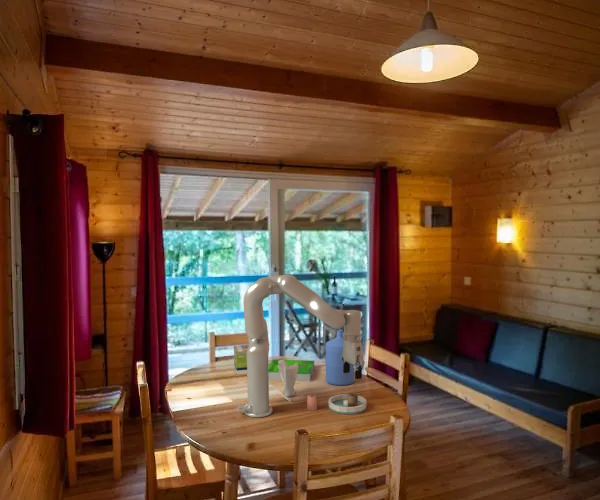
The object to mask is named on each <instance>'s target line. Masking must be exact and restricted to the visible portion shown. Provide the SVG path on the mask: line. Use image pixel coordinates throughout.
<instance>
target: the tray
mask: <svg viewBox="0 0 600 500" xmlns="http://www.w3.org/2000/svg"><path fill="white" fill-rule="evenodd" d="M279 360H280V359H273V360H272V361H271V362H270V363H269V364H268V370H269V379H281V376H280V373H279V368H278V365H279V364H278V361H279ZM283 360H284V361H285V363H286V364H287V365H294V364H295V363H298V372H297V377H296V380H298V381H297V382H311V380H310V379H312V377H313V374H312V373H314V371H313V370H315V360H300V359H298V360H297V359H296V360H295V359H283ZM288 367H289V366H288ZM311 376H312V377H311Z"/></svg>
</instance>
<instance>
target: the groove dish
mask: <svg viewBox="0 0 600 500" xmlns="http://www.w3.org/2000/svg"><path fill="white" fill-rule="evenodd" d="M348 394H349V393H345V394H344V393H342V394H340V393H339V394H337V395H336V394H335V395H332V396H331V397H329V398H328V403H327V404H328V409H329V410H330V411H331V412H333V413H336V414H340V415H350V416H351V415H358V414H361V413H363V412H365V411H366V410H367V405H368V403H367V399H366V398H365V397H363V396H360V395H358V406H355V407H348Z"/></svg>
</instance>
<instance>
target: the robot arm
mask: <svg viewBox="0 0 600 500" xmlns="http://www.w3.org/2000/svg"><path fill="white" fill-rule="evenodd" d="M279 294H284V295H286V296H287V298H289V299H290V300H292V301H294V302H295V303H296V304H298V305H300V306H301V307H302V308H303V309H305V310H306V311H307V312H308V313H310V314H312V315H314V317H316V318H317V319H318V320H320V321H321V322H322V323H324V324H325V325H327V326H328V327H330V328H331V329H332V330H339V329H340V330H342V329H343V338H344V347H343V352H342V353H341V355H342V360H343V373H349V372H350V364H353V366H354V377H355V380H360V379H363V369H364V365H365V361H364V351H363V343H362V314H361V313H362V312H361V311H360V310H358V309H357V310H356V309H346V310H345V309H337V308H333V307H332V306H331V305H329V304H328V303H327V302H326V301H324V299H322V298H321V296H320V295H319V294H317V293H316V292H315V291H314V290H312V289H311V288H310V287H308V286H306V285H305V284H304V283H302V281H300V280H298V279H297V277H296V276H294V275H293V274H289V273H287V274H282V275H281V274H280V275H273V276H265V277H261V278H259V279H257V280H256V281H255V282H254V283H252V285H250V286H249V288H247V290H246V291H245V293H244V296H243V316H244V318H243V319H244V331H245V334H246V336H247V339H248V340H247V341H248V344H249V347H248V350H247V356H246V358H247V376H246V379H247V401H246V402H245V404H243V405H238V406H237V407H236V409H237V411H242V412H244V415H246V416H247V417H251V418H262V417H267V416H270V415H271V414H272V413H273V412H274V411H273V407H271V406H270V391H269V390H270V380H269V370H268V366H269V353H270V340H269V330H268V323H267V320H266V319H265V316H264V307H263V301H265V299H266V298H268V297H270V295H279ZM348 363H350V364H348Z"/></svg>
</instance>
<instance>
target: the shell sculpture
mask: <svg viewBox="0 0 600 500" xmlns="http://www.w3.org/2000/svg"><path fill="white" fill-rule="evenodd" d="M278 360H279V361H278V364H279V365H278V368H279V373H280V376H281V379H282V383H283V390H282V393H281V394H282V396H284V397H287V398H290V397H293V396H295V394H296V391H295V386H296V385H295V384H296V382H297V381H296V377H297V372H298V363H295V364H294V365H287V364H286V363H285V361H284V360H285V359H278ZM288 366H289V367H288Z"/></svg>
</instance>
